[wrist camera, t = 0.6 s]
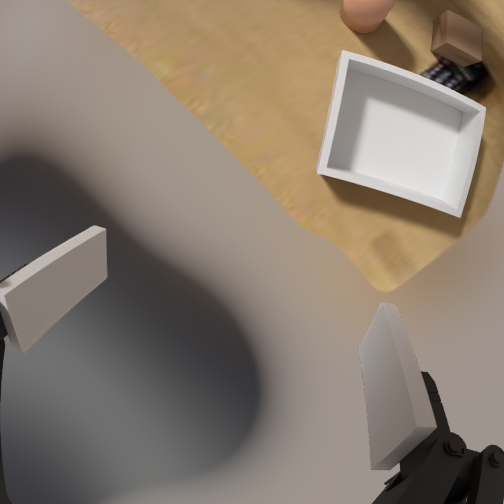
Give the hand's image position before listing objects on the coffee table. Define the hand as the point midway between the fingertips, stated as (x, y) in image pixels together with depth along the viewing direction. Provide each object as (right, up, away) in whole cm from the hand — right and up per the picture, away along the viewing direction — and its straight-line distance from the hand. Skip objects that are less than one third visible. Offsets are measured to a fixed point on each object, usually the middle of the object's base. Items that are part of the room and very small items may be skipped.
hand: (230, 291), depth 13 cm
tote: (+18, +16, +17) cm, 30 cm away
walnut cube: (+26, +28, +11) cm, 39 cm away
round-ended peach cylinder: (+14, +30, +12) cm, 35 cm away
